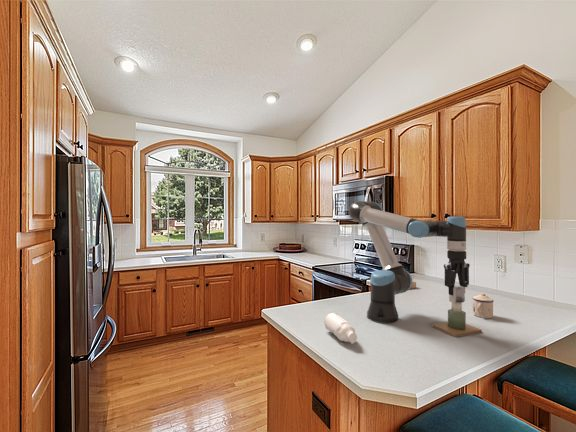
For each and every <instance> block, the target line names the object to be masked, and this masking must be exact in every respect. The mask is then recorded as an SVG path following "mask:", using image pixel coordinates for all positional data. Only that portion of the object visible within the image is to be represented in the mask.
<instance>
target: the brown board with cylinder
mask: <svg viewBox="0 0 576 432" xmlns="http://www.w3.org/2000/svg"><path fill="white" fill-rule="evenodd" d="M466 316H467V315H466V312H465V311H464V310H463V302H462V303H460V302H456V303H453V302H451V309H450V308H449V309H448V310H447V322H441V323H435V324H434V323H433V324H432V328H434V329H436V330H438V331H439V332H440V331H441V332H443V333H445V334H447V335H450V336H453V337H454V338H458V337H464V336H470V335H474V334H475V335H476V334H480V333H483V329H481V328H480V327H476V326H473V325H471V324H468V323H467V322H466Z"/></svg>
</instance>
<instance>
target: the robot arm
mask: <svg viewBox="0 0 576 432" xmlns="http://www.w3.org/2000/svg"><path fill="white" fill-rule="evenodd" d="M348 216H349V217H350V218H351V220H353V221H355V222H360V223H362V226H363V228H364V229H367V230H368V233H369V236H370V239H371V242H372V244H373V246H374V248H375V249H374V250H375V251H376V254H377V256H378V260H379V262H380V264H381V266H382V269H379V270H374V271H372V273H371V274H370V280H369V282H370V303H369V305H368V309H367V311H366V318H367V319H369V320H370V319H371V320H370V321H372V320H373V322H376V323H382V324H394V323H397V322H398V321H399V312H398V309H397V307H396V304H395V300H396V299H395V297H396V295H399V294H403V293H406V292H407V291H409V290H411V289H412V288H411V286H412V281H413V277H412V274H410V272H408V271H407V270H405V268H404V265H403V264H401V263H399V261H398V258H397V257H396V254H395V252H394V249H393V246H392V244H391V241H390V240H389V237H388V234H387V232H386V230H385V228H387V229H391V230H395V231H398V232H401V233H404V234H407V235H408V234H409V235H411V237H413V238H417V239H421V238H428V237H429V238H430V237H440V238H442V237H444V238H446V242H447V243H446V245H447V246H446V249H447V253H446V254H447V256H446V257H447V258H448V262H447V264H446V263H444V264H443V268H444V269H443V270H444V287H448V301H449V302H450V303H452V302H453V303H456V288H454V286H455V284H456V278H458V283H459V285H458V286H457V287H462V288H464V302H466V295H465V294H466V288H468V286H469V284H470V265H471V264H470V263H468V262H466V261H465V260H467V251H466V250H467V220H466V217H464V216H447V218H446V220H421V219H417V218H413V217H410V216H404V215H400V214H398V213H397V214H396V213H392V212H388V211H384V210H383V207H382V206H381V204H379V203H378V202H375V201H362V200H357V201H355V202H353V203H351V204H350V206H349V209H348ZM410 288H411V289H410ZM464 302H463V303H464Z"/></svg>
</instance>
